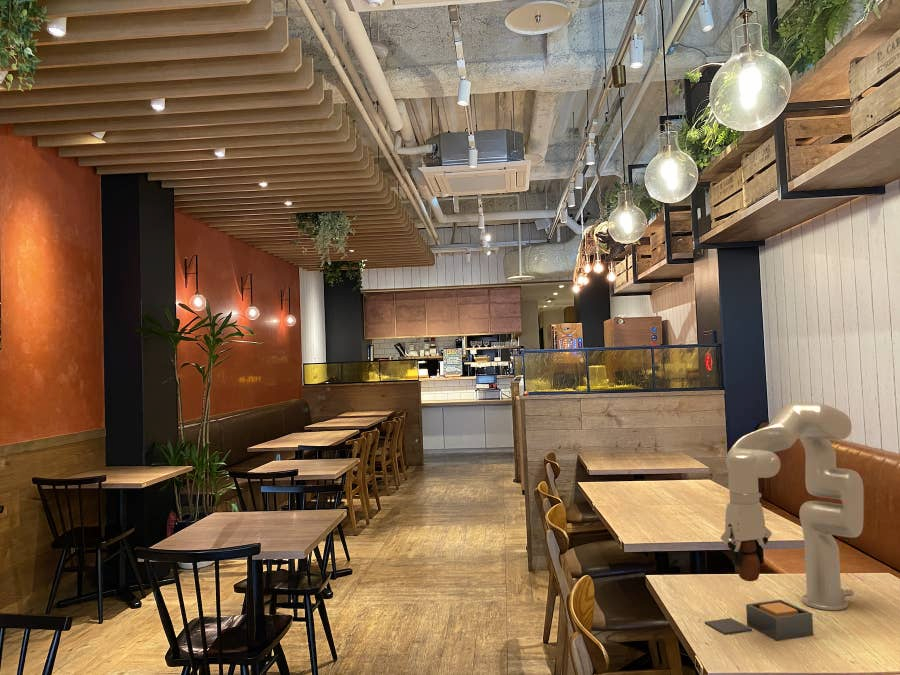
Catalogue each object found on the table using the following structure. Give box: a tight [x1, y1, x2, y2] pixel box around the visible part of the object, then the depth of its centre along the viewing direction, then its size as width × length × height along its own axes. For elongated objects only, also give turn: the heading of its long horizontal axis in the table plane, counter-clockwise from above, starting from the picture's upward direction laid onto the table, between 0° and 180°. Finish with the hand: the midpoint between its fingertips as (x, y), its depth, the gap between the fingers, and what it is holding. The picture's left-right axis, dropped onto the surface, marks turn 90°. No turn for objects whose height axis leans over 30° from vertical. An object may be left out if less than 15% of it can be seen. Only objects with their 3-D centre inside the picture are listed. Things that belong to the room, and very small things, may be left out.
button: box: [759, 602, 798, 617], centre depth 195 cm, size 7×7×2 cm
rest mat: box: [704, 617, 753, 636], centre depth 198 cm, size 9×9×1 cm
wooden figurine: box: [736, 540, 761, 582], centre depth 190 cm, size 7×6×15 cm
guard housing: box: [745, 599, 814, 642], centre depth 195 cm, size 12×12×6 cm
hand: (747, 563), depth 190 cm, fingers closed on wooden figurine, 6 cm apart
